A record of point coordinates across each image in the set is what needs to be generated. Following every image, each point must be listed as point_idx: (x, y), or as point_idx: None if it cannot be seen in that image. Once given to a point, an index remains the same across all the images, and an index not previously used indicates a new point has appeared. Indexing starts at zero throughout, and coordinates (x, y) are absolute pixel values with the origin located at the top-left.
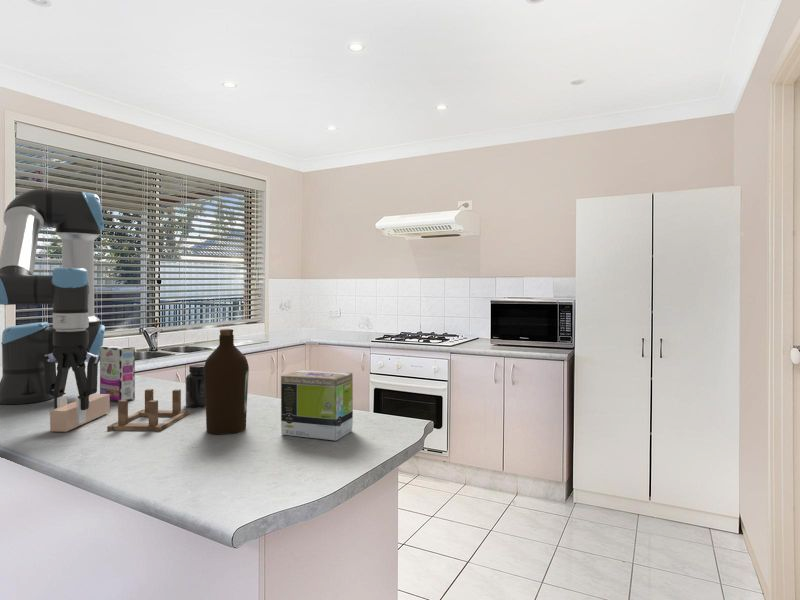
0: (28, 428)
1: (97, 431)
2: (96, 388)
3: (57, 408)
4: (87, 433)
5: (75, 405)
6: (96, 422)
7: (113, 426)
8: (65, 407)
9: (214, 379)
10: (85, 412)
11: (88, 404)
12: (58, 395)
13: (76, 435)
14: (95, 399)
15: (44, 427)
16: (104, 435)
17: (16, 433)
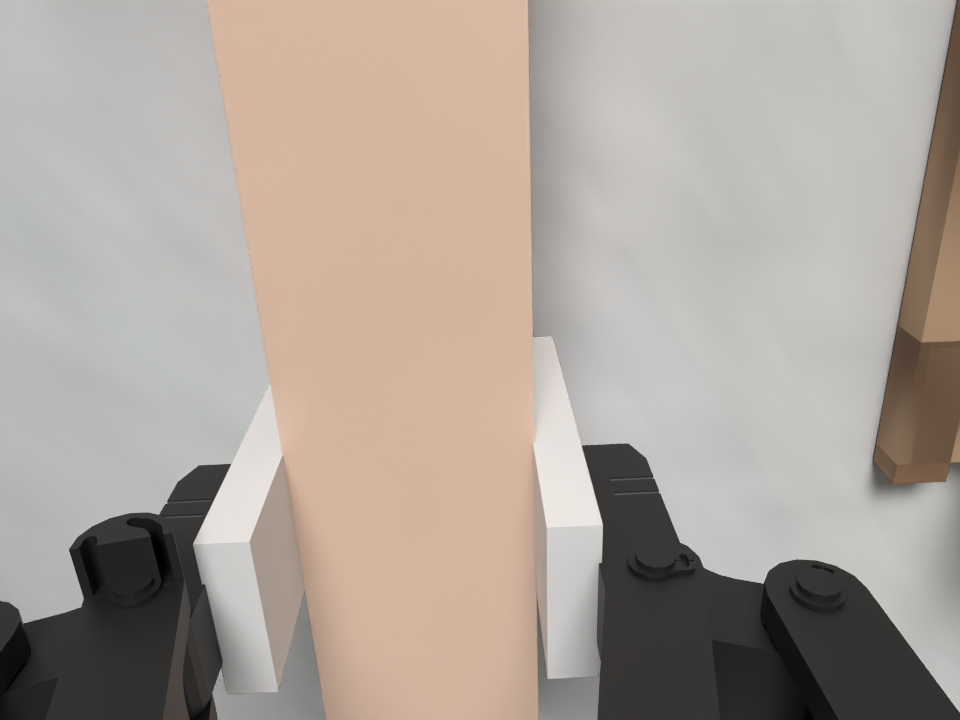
0: (19, 462)
1: (786, 489)
2: (895, 650)
3: (332, 651)
4: (724, 550)
5: (458, 499)
6: (586, 176)
7: (948, 458)
8: (400, 604)
9: None
10: (565, 394)
11: (654, 487)
12: (209, 691)
13: None
14: (516, 77)
15: (149, 417)
16: (909, 585)
17: (73, 603)
